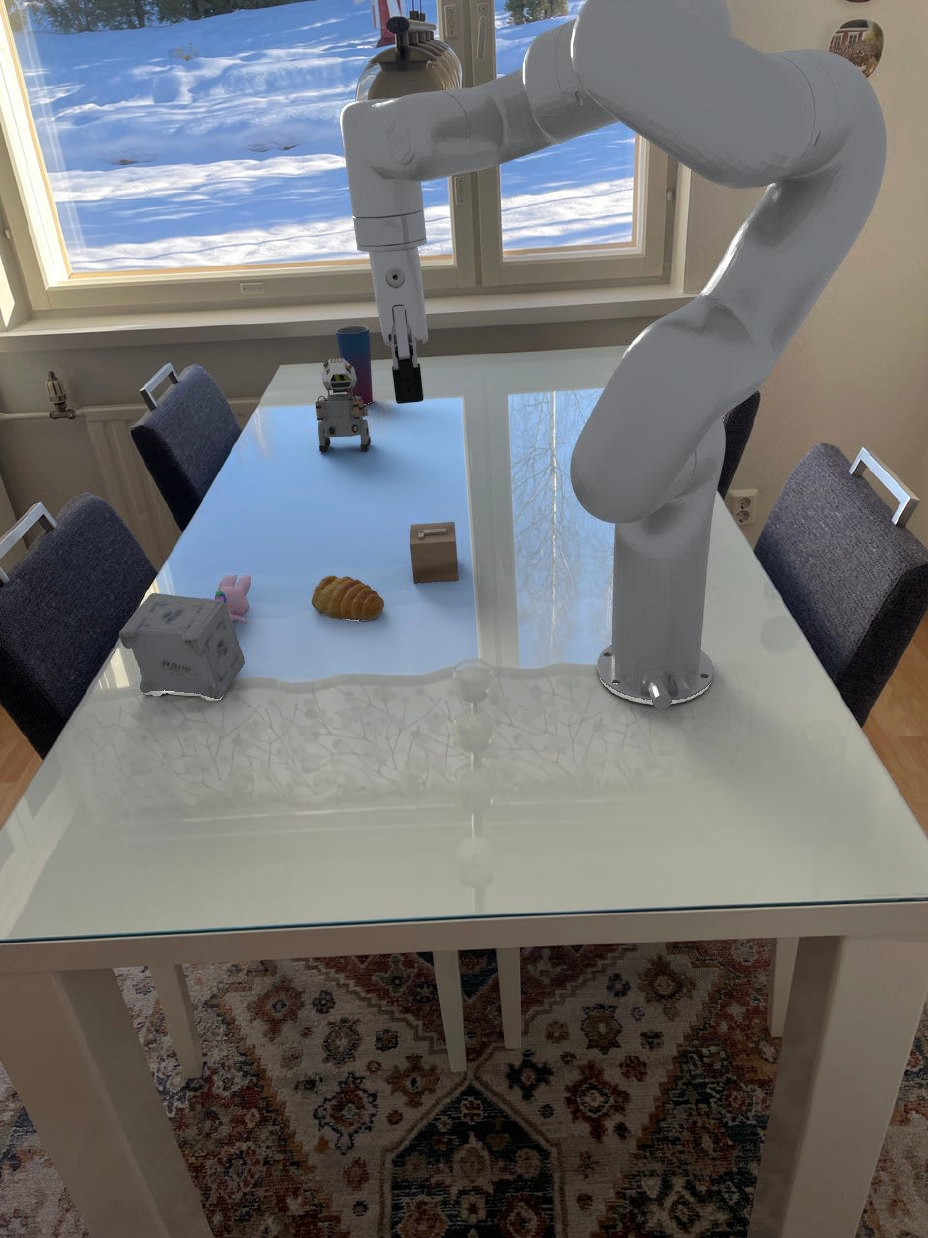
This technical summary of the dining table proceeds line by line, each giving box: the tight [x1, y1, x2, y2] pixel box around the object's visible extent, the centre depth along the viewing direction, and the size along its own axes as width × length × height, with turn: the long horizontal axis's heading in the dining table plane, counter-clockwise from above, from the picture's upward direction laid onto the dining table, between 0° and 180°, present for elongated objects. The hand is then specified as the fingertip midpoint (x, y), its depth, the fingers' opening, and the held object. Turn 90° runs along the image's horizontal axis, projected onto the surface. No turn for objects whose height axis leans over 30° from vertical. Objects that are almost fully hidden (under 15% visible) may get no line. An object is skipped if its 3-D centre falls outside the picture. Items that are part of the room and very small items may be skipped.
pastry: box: [311, 575, 385, 622], centre depth 120 cm, size 9×7×4 cm
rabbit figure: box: [213, 573, 252, 625], centre depth 118 cm, size 6×6×15 cm
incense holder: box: [118, 592, 246, 699], centre depth 105 cm, size 10×8×10 cm
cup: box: [335, 324, 374, 404], centre depth 191 cm, size 7×7×15 cm
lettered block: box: [409, 521, 459, 585], centre depth 126 cm, size 6×6×6 cm
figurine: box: [315, 357, 372, 453], centre depth 170 cm, size 9×12×15 cm
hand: (409, 400), depth 109 cm, fingers closed
